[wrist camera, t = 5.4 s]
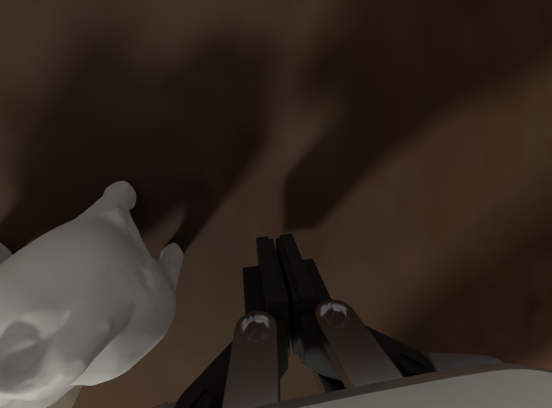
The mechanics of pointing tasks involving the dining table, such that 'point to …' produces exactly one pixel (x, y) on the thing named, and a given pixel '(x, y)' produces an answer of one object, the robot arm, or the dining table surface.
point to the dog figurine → (82, 303)
